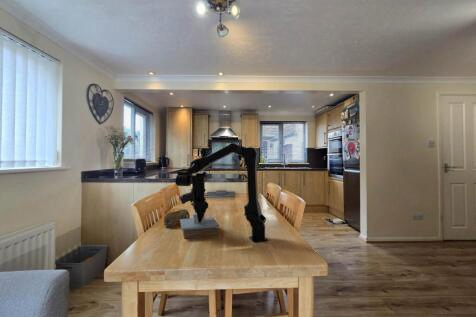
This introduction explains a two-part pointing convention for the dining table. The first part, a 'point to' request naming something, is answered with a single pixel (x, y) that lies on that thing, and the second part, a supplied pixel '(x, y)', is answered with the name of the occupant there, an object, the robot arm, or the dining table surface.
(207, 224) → the lid
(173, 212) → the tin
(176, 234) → the dining table surface
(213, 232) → the box
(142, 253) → the dining table surface
